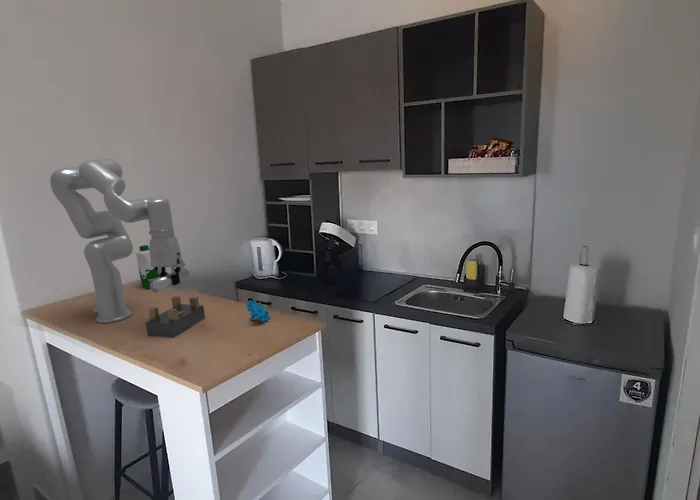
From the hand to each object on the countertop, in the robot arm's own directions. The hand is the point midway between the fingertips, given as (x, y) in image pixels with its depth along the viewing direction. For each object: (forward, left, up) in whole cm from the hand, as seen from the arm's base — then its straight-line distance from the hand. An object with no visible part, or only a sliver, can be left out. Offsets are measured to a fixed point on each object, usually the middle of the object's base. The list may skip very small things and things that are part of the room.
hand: (170, 283), depth 156 cm
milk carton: (-47, +42, -17) cm, 65 cm away
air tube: (0, 0, +2) cm, 2 cm away
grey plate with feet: (0, 0, -16) cm, 16 cm away
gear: (+28, +10, -17) cm, 34 cm away
